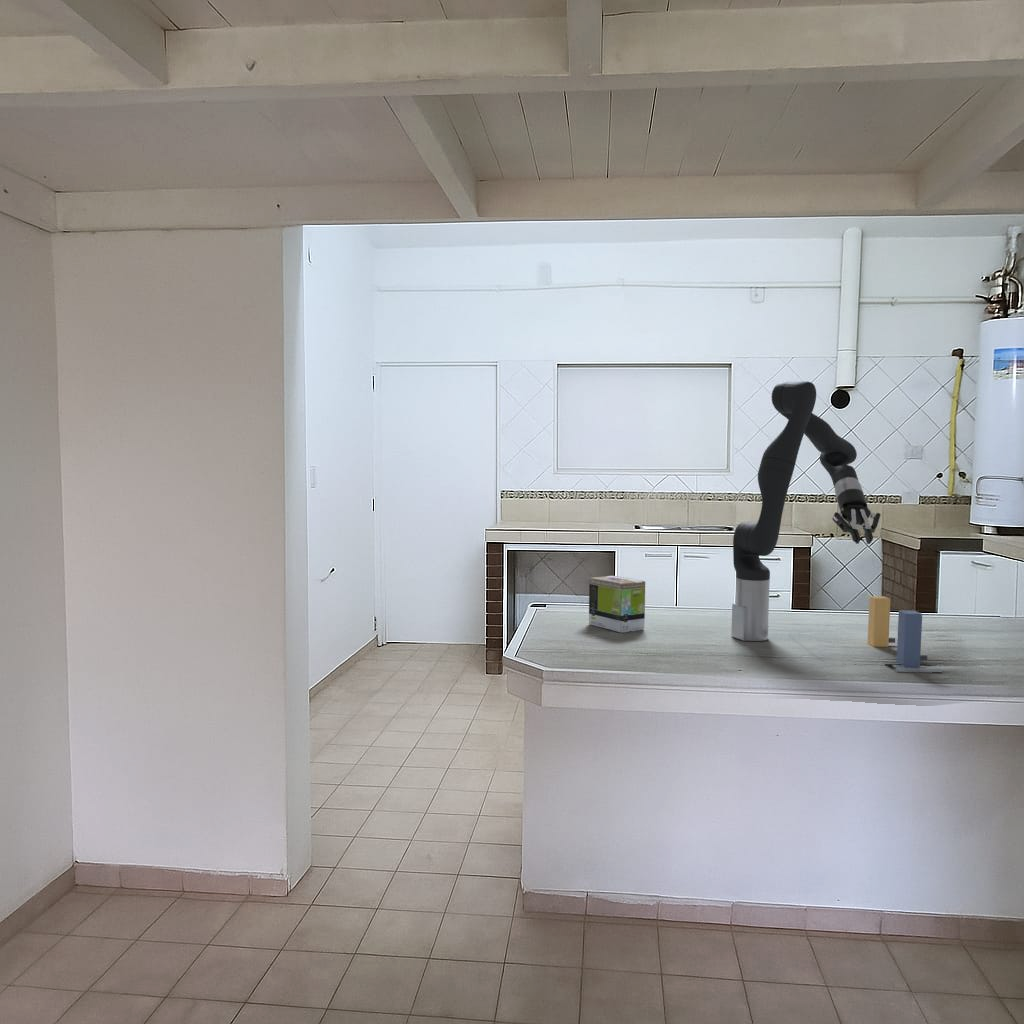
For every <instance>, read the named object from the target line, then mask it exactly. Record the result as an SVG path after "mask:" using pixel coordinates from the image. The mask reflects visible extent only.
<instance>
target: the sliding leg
mask: <svg viewBox="0 0 1024 1024" xmlns="http://www.w3.org/2000/svg"><path fill="white" fill-rule="evenodd" d="M868 598H869V600H868V624H867V625H868V626H867V644H868V645H870V646H872V647H873V648H874V647H875V648H888V647H889V644H890V643H891V644H893V643H894V644H895V643H896V637H890V619H891V618H890V616H891V598H889V597H887V596H884V595H883V596H881V595H880V596H879V595H878V596H877V595H876V596H875V595H872V596H871V595H870V596H869V597H868Z"/></svg>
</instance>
